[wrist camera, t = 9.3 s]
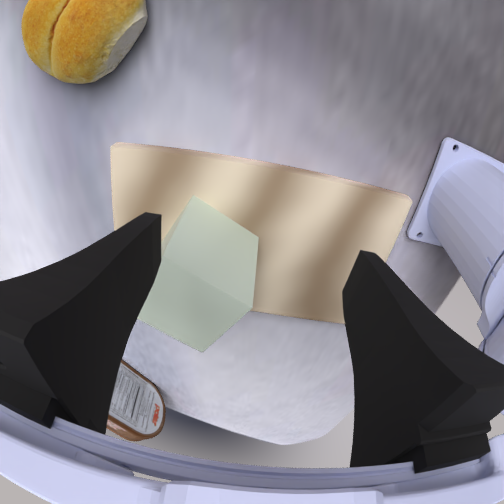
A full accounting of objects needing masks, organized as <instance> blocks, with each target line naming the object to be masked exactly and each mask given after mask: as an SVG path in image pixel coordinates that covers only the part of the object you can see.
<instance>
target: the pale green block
mask: <svg viewBox="0 0 504 504" xmlns="http://www.w3.org/2000/svg"><path fill="white" fill-rule="evenodd" d="M258 241H259V237H258V236H256V235H255V234H253V233H251V232H250V231H248V230H247V229H245V228H244V227H242V226H241V225H239V224H238V223H236V222H235V221H233V220H232V219H230V218H228V217H227V216H225V215H224V214H222V213H221V212H219V211H218V210H216V209H215V208H213V207H212V206H210V205H208V204H207V203H205V202H204V201H202V200H201V199H199V198H198V197H196V196H194V195H193V196H192V197H191V199H190V200H189V202H188V203H187V205H186V206H185V208H184V209H183V211H182V212H181V214H180V215H179V216H178V218H177V219H176V221H175V223H174V224H173V226H172V227H171V229H170V230H169V232H168V233H167V235H166V236H165V238H164V239H163V241H162V242H161V264H160V267H159V270H158V273H157V276H156V279H155V281H154V284H153V286H152V288H151V290H150V292H149V295H148V297H147V299H146V301H145V303H144V305H143V307H142V309H141V311H140V313H139V316H138V318H137V319H139V320H141V321H142V322H144V323H146V324H148V325H150V326H151V327H153V328H155V329H157V330H159V331H161V332H163V333H165V334H166V335H168V336H170V337H172V338H174V339H176V340H178V341H180V342H182V343H184V344H186V345H188V346H190V347H192V348H194V349H196V350H198V351H200V352H204V351H205V350H206V349H207V348H208V347H209V346H210V345H212V344H213V343H214V342H215V341H216V340H217V339H218V338H219V337H221V336H222V335H223V334H224V333H225V332H226V331H227V330H228V329H230V328H231V327H232V326H233V325H234V324H235V323H236V322H237V321H239V320H240V319H241V318H242V317H243V316H244V315H245V314H246V313H247V312H249V311H250V310H251V309H252V308H253V297H254V286H255V275H256V264H257V252H258Z"/></svg>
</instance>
